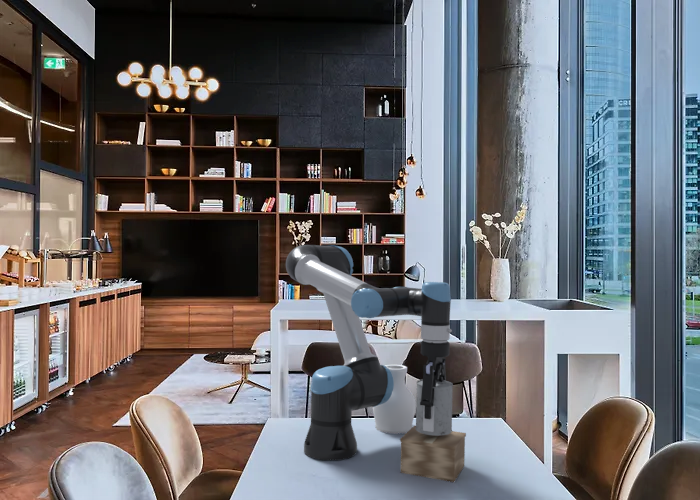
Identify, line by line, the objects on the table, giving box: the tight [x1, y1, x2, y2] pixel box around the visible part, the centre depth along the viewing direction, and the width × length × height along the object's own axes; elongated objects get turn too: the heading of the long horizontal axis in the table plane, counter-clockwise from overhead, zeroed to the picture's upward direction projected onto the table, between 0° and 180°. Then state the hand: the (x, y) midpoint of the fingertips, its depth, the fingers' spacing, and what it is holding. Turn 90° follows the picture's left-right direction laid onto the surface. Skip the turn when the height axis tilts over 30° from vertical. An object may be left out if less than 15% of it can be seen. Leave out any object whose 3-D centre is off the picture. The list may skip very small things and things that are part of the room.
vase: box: [372, 364, 416, 435], centre depth 182 cm, size 14×14×20 cm
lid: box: [399, 425, 467, 450], centre depth 147 cm, size 14×12×1 cm
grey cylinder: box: [415, 379, 454, 436], centre depth 147 cm, size 10×10×12 cm
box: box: [400, 437, 466, 483], centre depth 147 cm, size 14×12×8 cm
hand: (433, 425), depth 147 cm, fingers closed on grey cylinder, 9 cm apart
